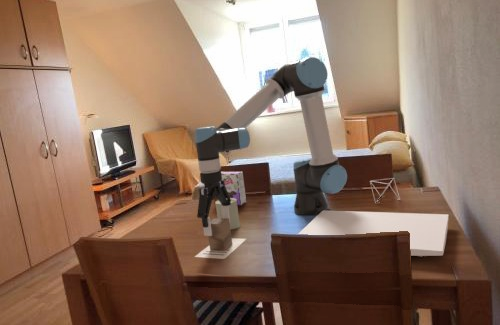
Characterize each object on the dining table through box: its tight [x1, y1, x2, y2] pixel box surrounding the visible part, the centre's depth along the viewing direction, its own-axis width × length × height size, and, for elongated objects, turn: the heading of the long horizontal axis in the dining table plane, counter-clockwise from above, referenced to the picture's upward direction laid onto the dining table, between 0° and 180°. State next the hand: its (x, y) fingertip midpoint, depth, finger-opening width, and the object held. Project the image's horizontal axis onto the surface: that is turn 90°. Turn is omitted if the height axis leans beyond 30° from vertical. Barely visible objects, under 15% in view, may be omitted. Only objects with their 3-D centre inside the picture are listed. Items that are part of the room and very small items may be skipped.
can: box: [214, 198, 241, 230], centre depth 163 cm, size 9×9×12 cm
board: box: [297, 210, 449, 258], centre depth 132 cm, size 45×32×5 cm
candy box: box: [221, 171, 247, 206], centre depth 201 cm, size 14×6×16 cm, turn 58°
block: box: [207, 217, 232, 251], centre depth 140 cm, size 6×6×10 cm
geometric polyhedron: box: [369, 177, 401, 204], centre depth 173 cm, size 12×11×9 cm
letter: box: [194, 237, 247, 260], centre depth 141 cm, size 12×18×1 cm, turn 156°
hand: (217, 228), depth 140 cm, fingers open, 13 cm apart
